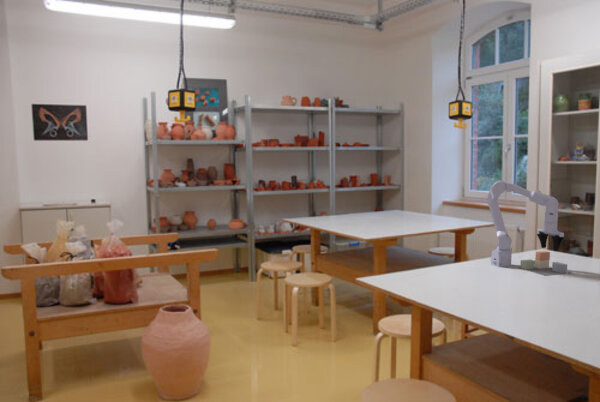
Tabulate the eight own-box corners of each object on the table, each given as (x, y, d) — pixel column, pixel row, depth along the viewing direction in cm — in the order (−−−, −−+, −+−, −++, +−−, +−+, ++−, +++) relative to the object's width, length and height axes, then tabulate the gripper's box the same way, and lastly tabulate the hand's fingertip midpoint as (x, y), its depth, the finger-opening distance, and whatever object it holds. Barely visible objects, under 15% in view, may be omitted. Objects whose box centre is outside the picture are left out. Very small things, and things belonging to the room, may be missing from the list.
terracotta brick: (540, 260, 246) (540, 252, 245) (535, 259, 248) (535, 251, 248) (549, 259, 248) (549, 252, 247) (544, 258, 250) (545, 250, 250)
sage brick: (524, 269, 244) (525, 261, 244) (520, 268, 247) (520, 260, 247) (534, 268, 246) (534, 260, 246) (530, 267, 249) (530, 259, 249)
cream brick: (539, 268, 246) (539, 260, 246) (534, 267, 249) (535, 259, 248) (548, 267, 248) (549, 259, 247) (544, 266, 251) (544, 258, 250)
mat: (545, 277, 232) (545, 275, 232) (518, 268, 248) (518, 267, 248) (570, 274, 236) (570, 273, 236) (542, 266, 252) (542, 265, 252)
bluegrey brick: (566, 272, 238) (567, 264, 238) (562, 273, 237) (562, 264, 237) (556, 269, 244) (557, 261, 243) (552, 270, 243) (552, 262, 242)
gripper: (569, 223, 238) (568, 251, 239) (545, 219, 251) (544, 246, 253) (557, 224, 235) (556, 252, 237) (534, 220, 249) (533, 246, 250)
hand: (549, 249), depth 244 cm, fingers open, 7 cm apart
